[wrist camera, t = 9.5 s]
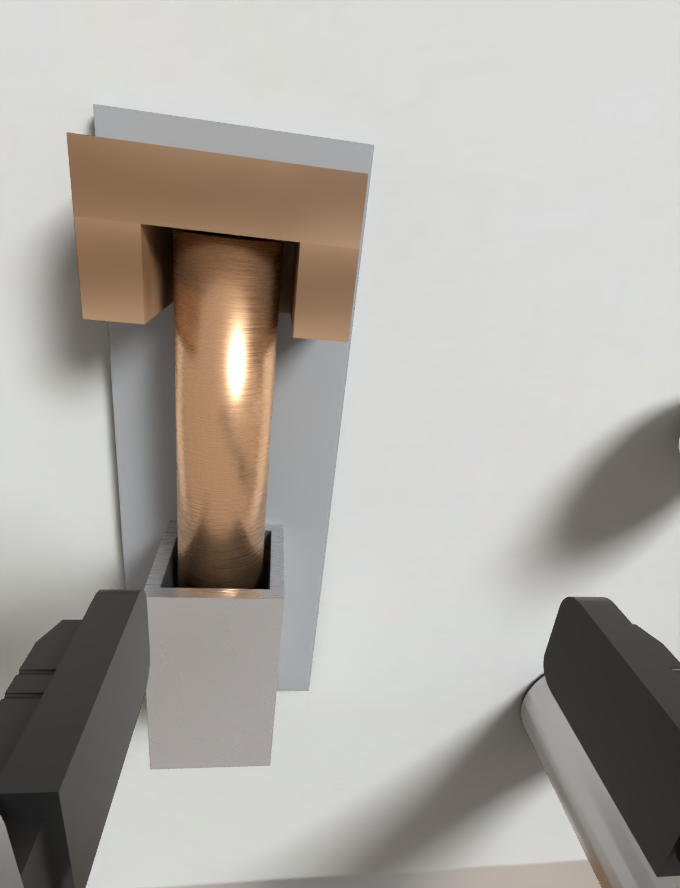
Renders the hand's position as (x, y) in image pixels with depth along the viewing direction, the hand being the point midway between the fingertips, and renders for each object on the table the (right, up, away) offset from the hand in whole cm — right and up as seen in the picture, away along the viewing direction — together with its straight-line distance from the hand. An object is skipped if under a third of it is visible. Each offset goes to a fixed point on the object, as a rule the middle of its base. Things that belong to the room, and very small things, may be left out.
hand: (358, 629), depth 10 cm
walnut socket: (-5, +13, +14) cm, 20 cm away
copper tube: (-6, +5, +17) cm, 18 cm away
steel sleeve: (-8, -7, +23) cm, 25 cm away
